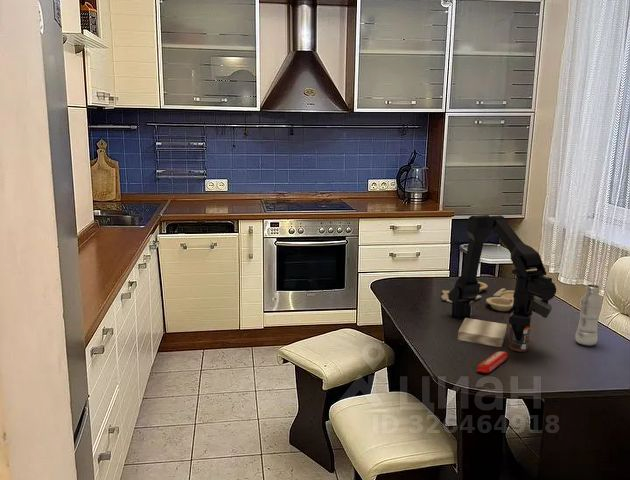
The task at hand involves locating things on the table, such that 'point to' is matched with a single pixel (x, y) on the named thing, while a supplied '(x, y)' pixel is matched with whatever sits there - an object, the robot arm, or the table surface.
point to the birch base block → (482, 332)
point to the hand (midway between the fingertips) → (519, 337)
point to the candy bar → (492, 362)
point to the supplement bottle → (521, 344)
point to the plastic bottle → (589, 316)
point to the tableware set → (492, 298)
